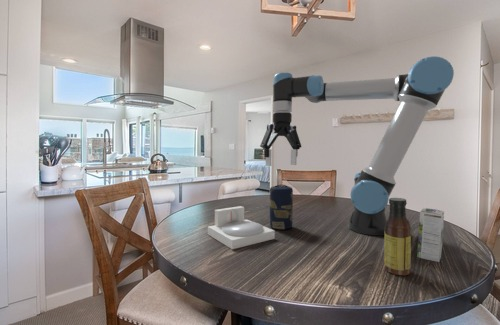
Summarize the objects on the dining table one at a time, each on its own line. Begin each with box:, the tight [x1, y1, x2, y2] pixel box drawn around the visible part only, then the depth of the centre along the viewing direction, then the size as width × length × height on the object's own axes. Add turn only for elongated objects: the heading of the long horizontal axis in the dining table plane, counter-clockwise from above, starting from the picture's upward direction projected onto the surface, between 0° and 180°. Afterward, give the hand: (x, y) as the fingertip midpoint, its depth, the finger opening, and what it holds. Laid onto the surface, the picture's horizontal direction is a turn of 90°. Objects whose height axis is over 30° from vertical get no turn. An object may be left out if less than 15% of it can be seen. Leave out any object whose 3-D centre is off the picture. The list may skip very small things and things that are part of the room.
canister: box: [269, 184, 294, 230], centre depth 110 cm, size 10×10×18 cm
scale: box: [207, 205, 276, 250], centre depth 99 cm, size 18×18×9 cm
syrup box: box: [416, 207, 445, 263], centre depth 81 cm, size 6×6×14 cm
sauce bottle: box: [383, 197, 412, 276], centre depth 71 cm, size 6×6×20 cm
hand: (281, 165), depth 109 cm, fingers open, 13 cm apart
